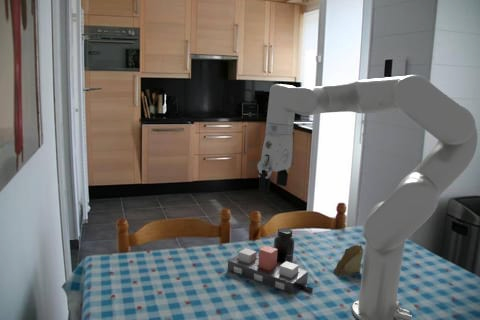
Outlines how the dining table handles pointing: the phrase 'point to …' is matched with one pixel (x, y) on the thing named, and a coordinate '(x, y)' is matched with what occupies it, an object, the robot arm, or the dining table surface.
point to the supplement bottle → (284, 245)
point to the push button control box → (269, 275)
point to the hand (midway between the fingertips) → (272, 188)
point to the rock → (350, 261)
